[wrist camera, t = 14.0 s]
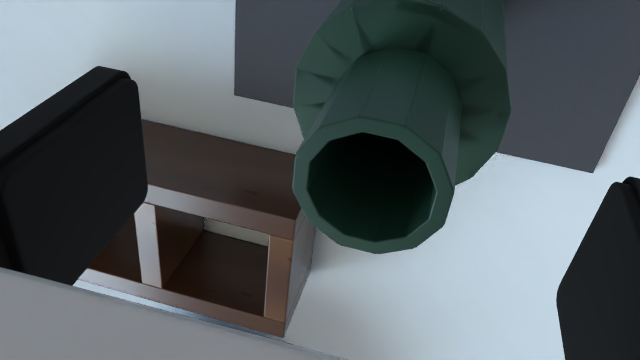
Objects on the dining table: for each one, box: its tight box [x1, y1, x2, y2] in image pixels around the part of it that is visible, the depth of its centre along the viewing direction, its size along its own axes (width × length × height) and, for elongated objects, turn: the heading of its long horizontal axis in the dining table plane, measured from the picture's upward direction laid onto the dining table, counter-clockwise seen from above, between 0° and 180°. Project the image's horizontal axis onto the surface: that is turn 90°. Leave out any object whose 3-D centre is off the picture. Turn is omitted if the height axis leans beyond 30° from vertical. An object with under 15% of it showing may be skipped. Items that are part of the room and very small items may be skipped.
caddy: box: [78, 120, 316, 338], centre depth 34 cm, size 9×17×6 cm, turn 84°
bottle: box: [292, 0, 511, 254], centre depth 18 cm, size 6×6×18 cm
